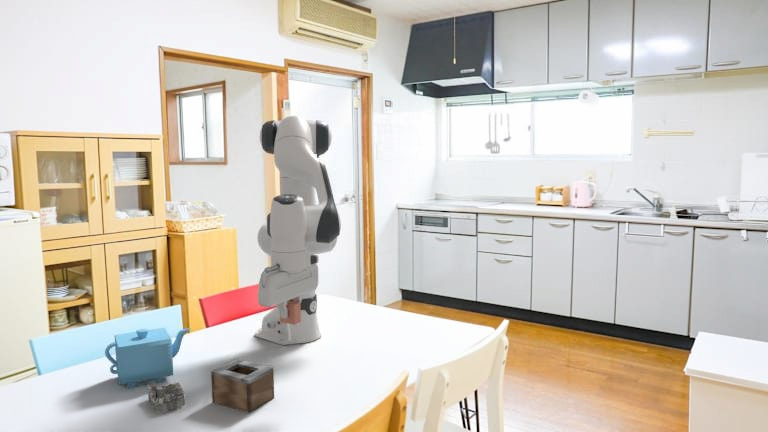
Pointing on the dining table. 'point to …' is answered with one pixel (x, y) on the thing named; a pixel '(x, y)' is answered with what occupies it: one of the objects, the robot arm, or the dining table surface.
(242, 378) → the box
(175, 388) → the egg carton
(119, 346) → the teapot
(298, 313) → the block
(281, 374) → the dining table surface
